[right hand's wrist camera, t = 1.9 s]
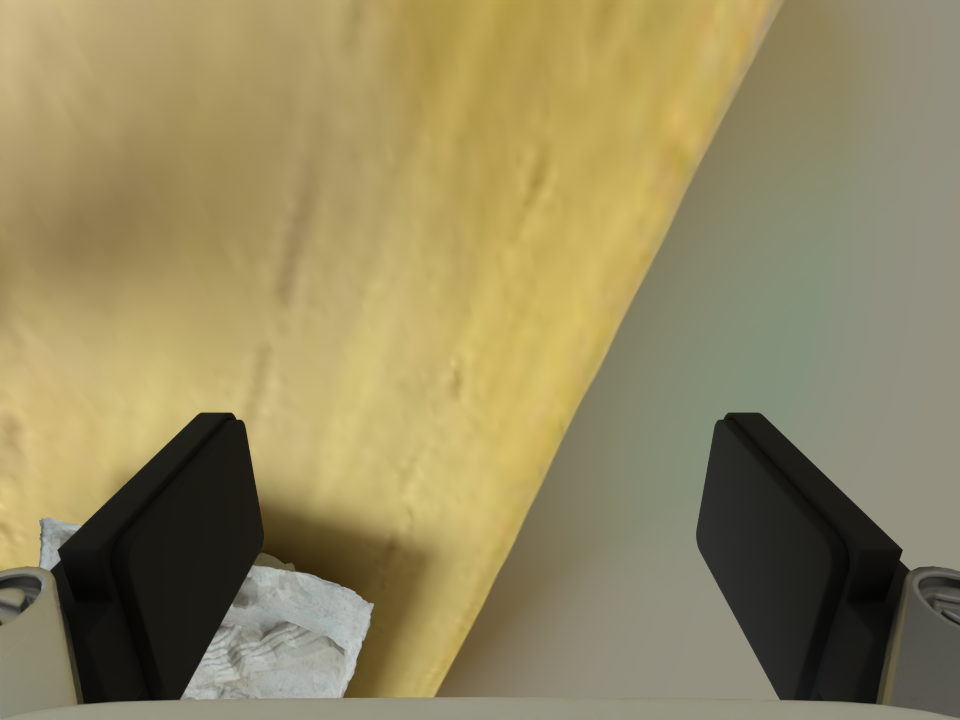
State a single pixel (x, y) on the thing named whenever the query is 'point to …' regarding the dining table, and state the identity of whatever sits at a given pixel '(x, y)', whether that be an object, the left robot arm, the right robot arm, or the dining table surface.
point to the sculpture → (269, 632)
